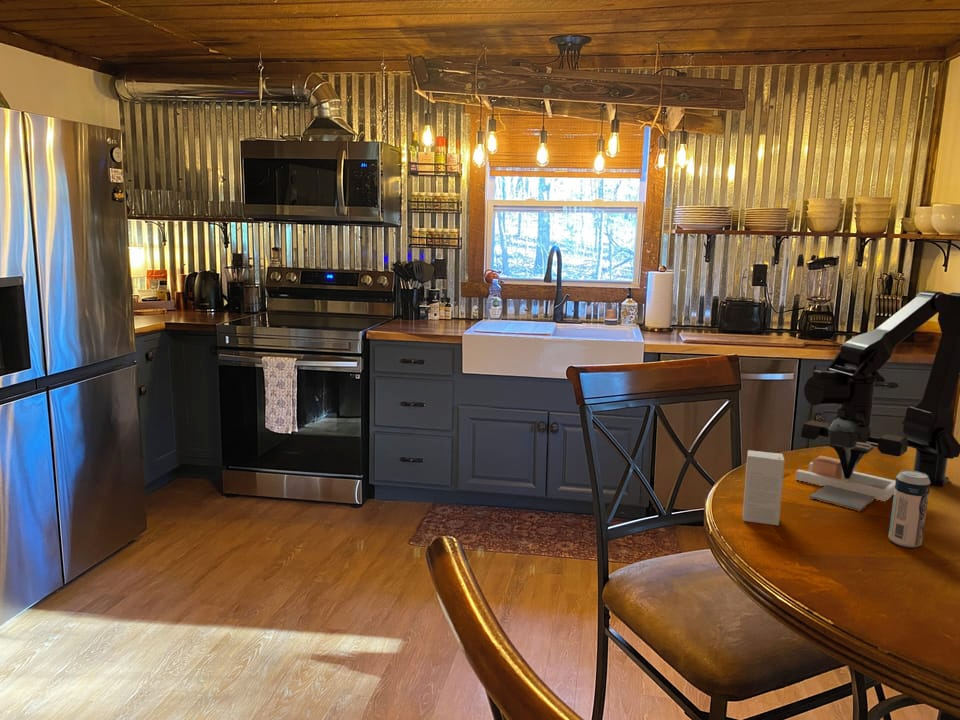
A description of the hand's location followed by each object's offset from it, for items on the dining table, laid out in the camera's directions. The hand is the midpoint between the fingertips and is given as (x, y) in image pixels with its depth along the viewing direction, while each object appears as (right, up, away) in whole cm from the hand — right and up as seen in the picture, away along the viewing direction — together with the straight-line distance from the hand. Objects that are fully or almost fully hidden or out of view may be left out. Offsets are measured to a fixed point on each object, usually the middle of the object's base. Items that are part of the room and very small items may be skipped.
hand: (847, 478), depth 145 cm
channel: (0, -2, +1) cm, 2 cm away
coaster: (-5, -3, -7) cm, 9 cm away
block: (-3, -1, +3) cm, 4 cm away
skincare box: (-25, -5, -18) cm, 31 cm away
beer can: (-4, -7, -27) cm, 28 cm away
